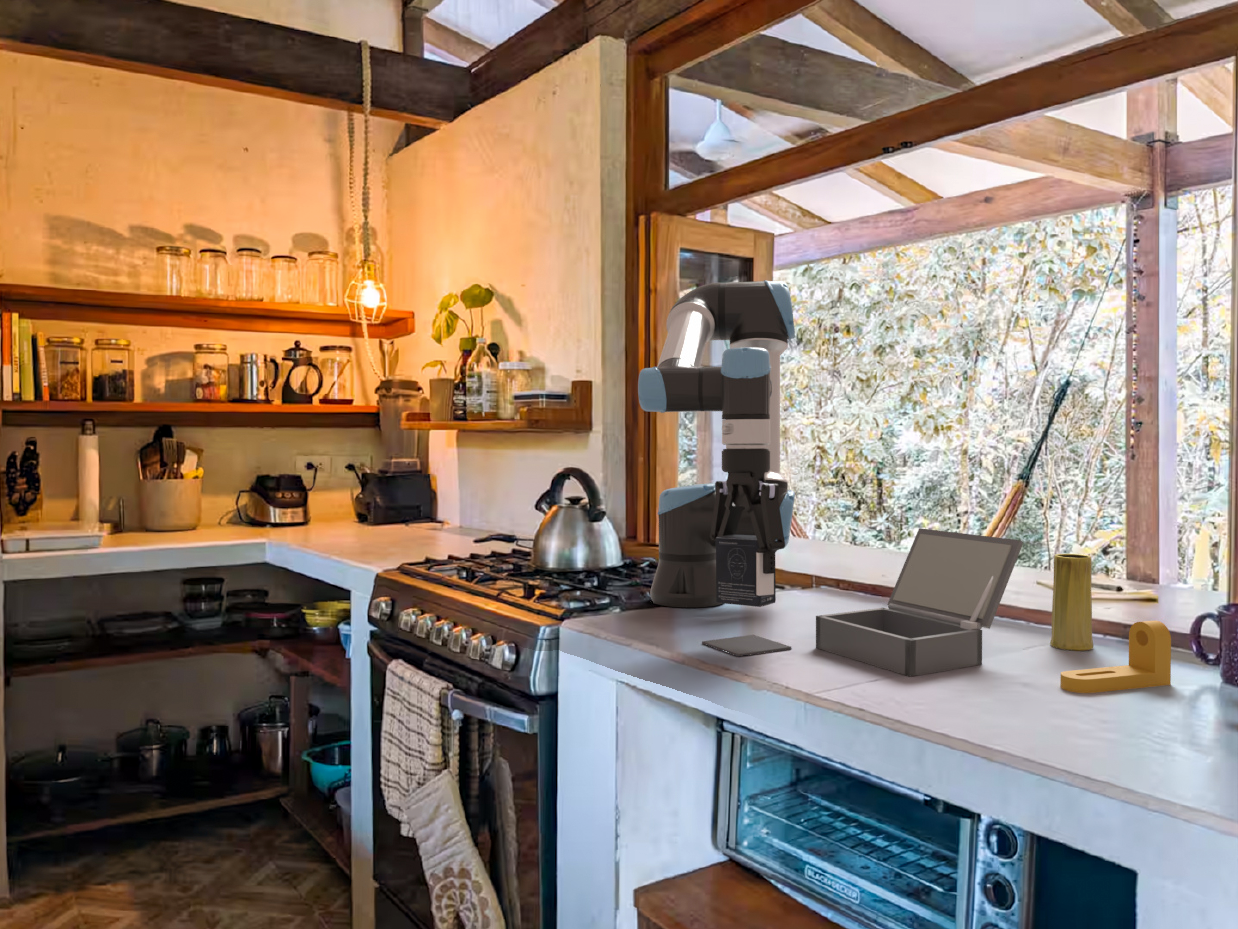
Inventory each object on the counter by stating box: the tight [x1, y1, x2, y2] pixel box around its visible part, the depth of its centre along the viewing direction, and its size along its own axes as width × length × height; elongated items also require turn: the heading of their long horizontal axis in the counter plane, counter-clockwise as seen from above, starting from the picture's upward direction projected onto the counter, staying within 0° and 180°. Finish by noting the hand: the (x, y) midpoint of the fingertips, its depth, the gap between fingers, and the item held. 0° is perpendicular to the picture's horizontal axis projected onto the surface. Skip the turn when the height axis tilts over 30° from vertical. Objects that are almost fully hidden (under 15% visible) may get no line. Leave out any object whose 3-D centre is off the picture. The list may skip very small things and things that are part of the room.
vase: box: [1049, 553, 1094, 652], centre depth 147 cm, size 6×6×14 cm
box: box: [716, 535, 777, 608], centre depth 148 cm, size 8×6×11 cm
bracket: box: [1059, 620, 1172, 694], centre depth 125 cm, size 15×4×8 cm, turn 106°
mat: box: [701, 634, 792, 657], centre depth 149 cm, size 10×10×1 cm
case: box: [815, 527, 1024, 677], centre depth 144 cm, size 20×22×18 cm
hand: (746, 590), depth 148 cm, fingers closed on box, 9 cm apart
